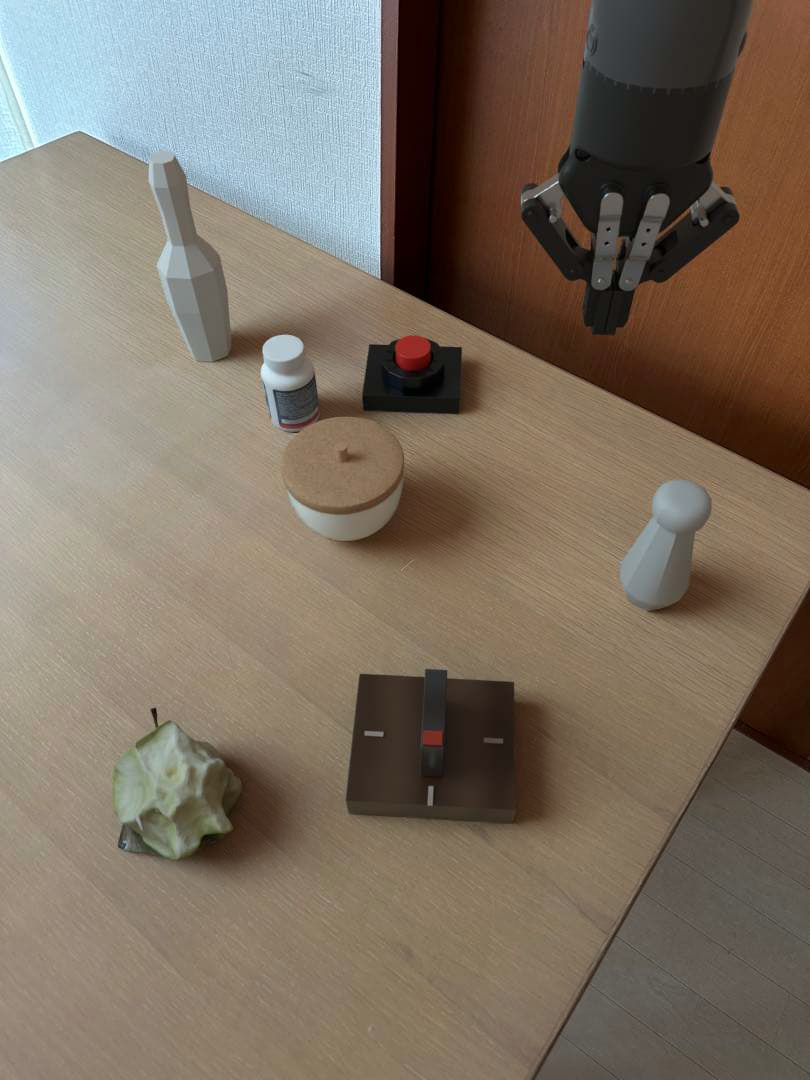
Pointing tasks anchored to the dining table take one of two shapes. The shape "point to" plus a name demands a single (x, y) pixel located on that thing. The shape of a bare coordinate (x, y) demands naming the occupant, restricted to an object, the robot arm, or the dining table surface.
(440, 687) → the handle
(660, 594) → the salt shaker
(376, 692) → the handle panel
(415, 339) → the red button
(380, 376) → the button block
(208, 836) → the fruit
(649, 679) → the dining table surface
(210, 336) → the faceted bottle
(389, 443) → the trinket box
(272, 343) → the pill bottle
